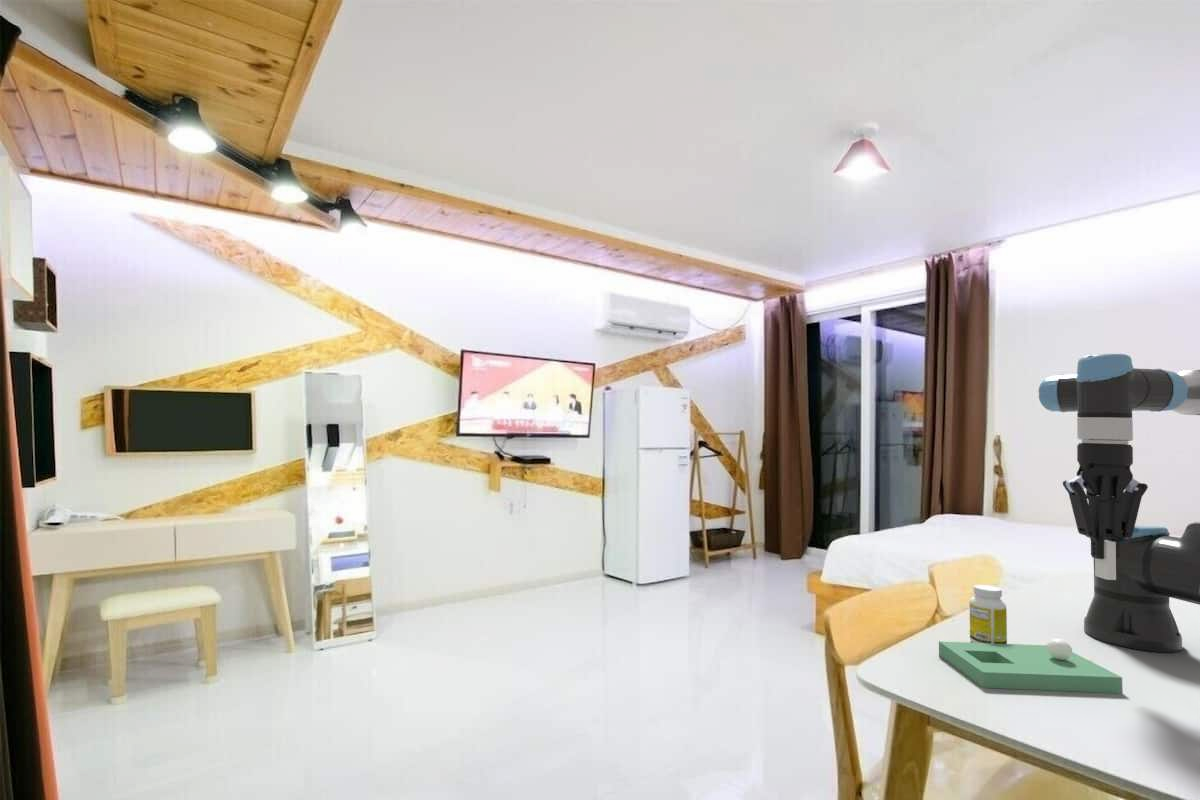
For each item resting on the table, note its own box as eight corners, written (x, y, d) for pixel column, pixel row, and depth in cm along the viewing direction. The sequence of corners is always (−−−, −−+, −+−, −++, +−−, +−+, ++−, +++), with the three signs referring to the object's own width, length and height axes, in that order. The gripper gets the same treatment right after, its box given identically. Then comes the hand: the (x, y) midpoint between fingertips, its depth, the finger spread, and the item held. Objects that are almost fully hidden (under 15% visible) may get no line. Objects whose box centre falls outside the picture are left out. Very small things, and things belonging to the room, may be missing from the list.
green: (1060, 659, 112) (1060, 645, 112) (1122, 693, 98) (1122, 677, 98) (938, 655, 113) (938, 641, 113) (982, 687, 99) (982, 672, 99)
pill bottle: (1001, 641, 121) (1001, 585, 122) (1011, 651, 115) (1010, 593, 116) (966, 636, 123) (966, 582, 124) (974, 647, 117) (973, 589, 118)
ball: (1062, 656, 107) (1062, 636, 107) (1077, 663, 103) (1077, 643, 103) (1042, 655, 107) (1042, 635, 107) (1056, 663, 103) (1056, 642, 104)
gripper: (1125, 442, 110) (1126, 574, 109) (1051, 440, 110) (1051, 571, 109) (1161, 444, 102) (1163, 585, 101) (1082, 441, 103) (1082, 582, 102)
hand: (1105, 577), depth 105 cm, fingers closed
